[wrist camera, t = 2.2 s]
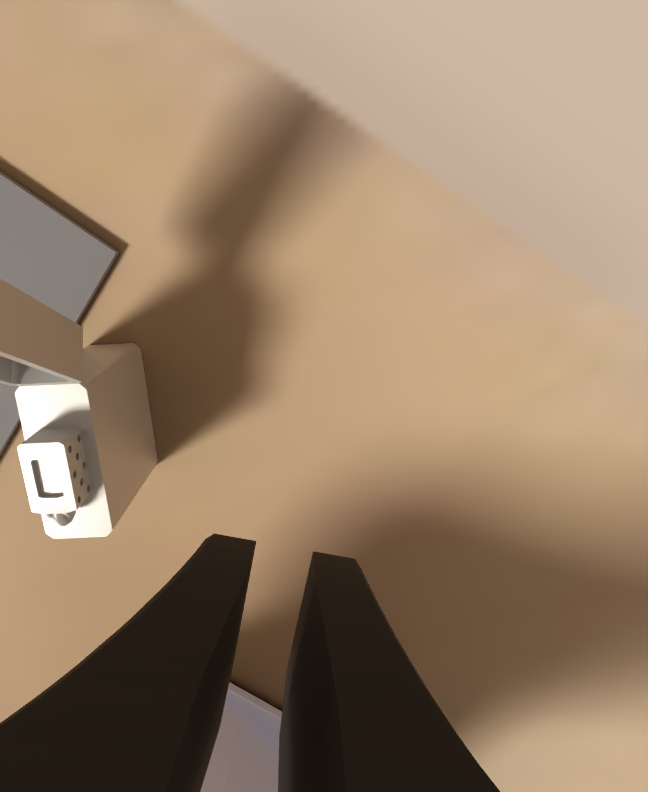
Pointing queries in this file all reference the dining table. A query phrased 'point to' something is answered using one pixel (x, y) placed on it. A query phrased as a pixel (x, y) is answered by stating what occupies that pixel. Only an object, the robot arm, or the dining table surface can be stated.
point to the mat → (45, 266)
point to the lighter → (75, 417)
